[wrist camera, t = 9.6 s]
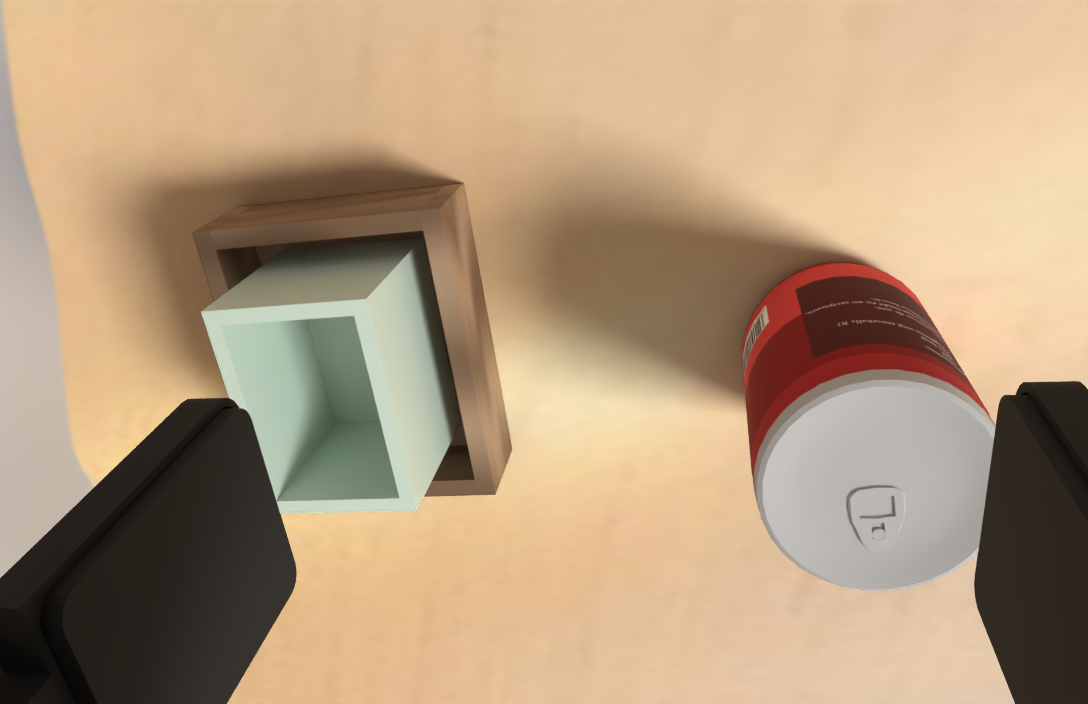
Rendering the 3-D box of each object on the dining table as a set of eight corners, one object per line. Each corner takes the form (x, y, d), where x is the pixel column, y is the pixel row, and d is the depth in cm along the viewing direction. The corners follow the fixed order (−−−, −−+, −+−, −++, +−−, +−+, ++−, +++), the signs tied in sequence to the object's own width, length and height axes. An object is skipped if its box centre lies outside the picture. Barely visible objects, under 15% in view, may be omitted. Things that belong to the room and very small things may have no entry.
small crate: (282, 250, 38) (200, 311, 32) (422, 237, 37) (366, 299, 31) (331, 427, 42) (266, 513, 36) (460, 422, 40) (417, 510, 34)
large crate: (236, 206, 38) (192, 232, 35) (463, 183, 36) (439, 208, 33) (310, 457, 44) (277, 500, 40) (512, 449, 42) (495, 494, 38)
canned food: (779, 448, 39) (805, 618, 30) (711, 297, 37) (714, 428, 27) (954, 392, 37) (1046, 557, 27) (894, 226, 34) (971, 341, 24)
